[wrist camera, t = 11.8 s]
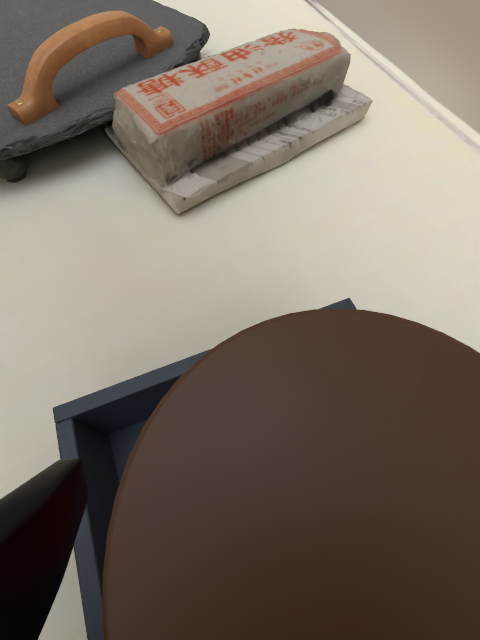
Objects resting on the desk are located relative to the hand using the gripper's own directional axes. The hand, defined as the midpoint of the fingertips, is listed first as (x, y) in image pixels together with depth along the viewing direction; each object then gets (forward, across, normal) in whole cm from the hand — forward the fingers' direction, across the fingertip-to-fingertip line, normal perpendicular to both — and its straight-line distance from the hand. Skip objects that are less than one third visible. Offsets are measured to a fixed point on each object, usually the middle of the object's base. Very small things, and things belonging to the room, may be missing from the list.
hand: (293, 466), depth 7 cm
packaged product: (+24, 0, -11) cm, 26 cm away
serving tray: (+33, +22, -20) cm, 44 cm away
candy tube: (+5, 0, +6) cm, 8 cm away
